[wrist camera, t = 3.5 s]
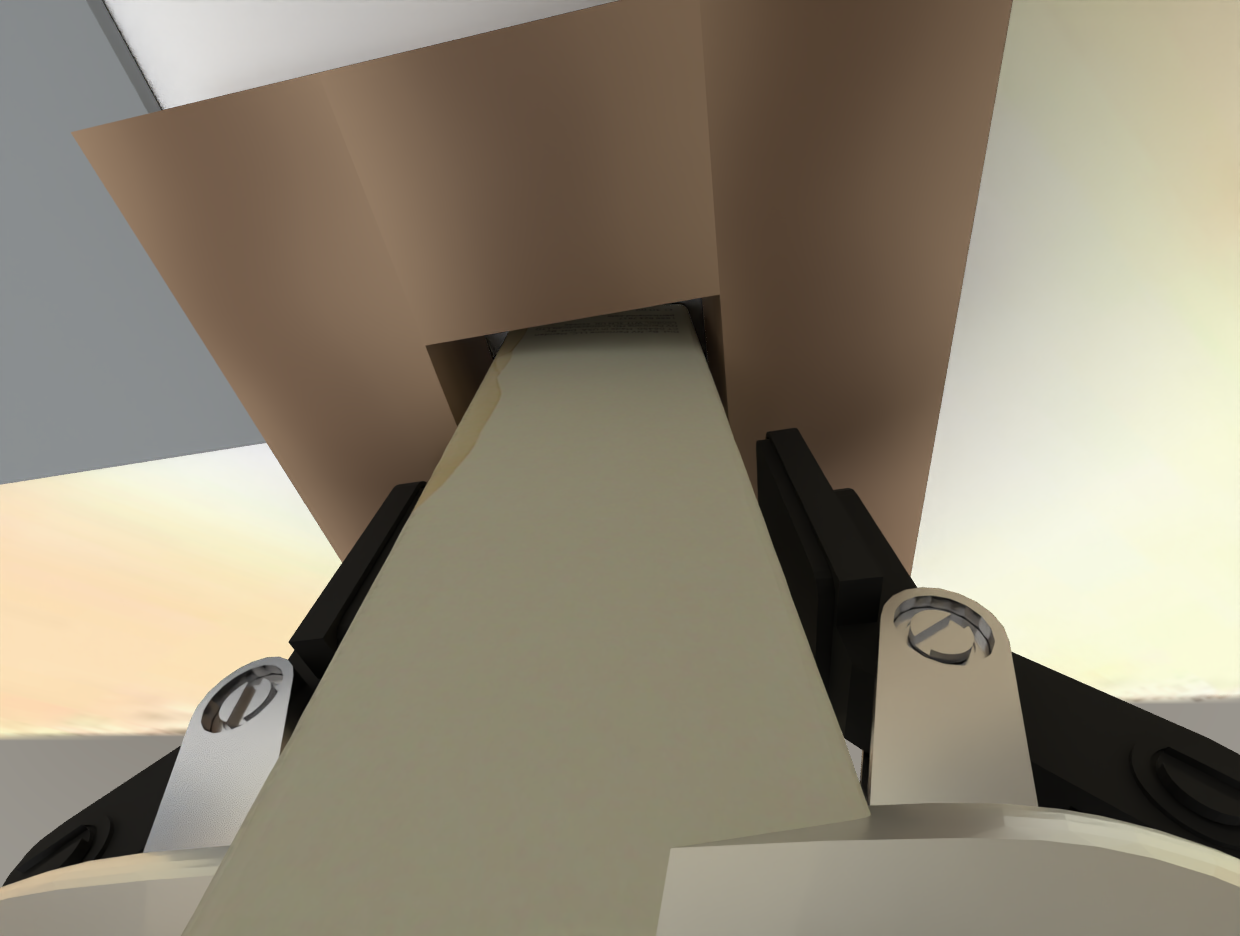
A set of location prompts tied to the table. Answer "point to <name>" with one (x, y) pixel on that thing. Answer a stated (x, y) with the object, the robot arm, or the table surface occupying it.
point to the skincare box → (550, 671)
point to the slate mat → (87, 271)
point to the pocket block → (585, 226)
